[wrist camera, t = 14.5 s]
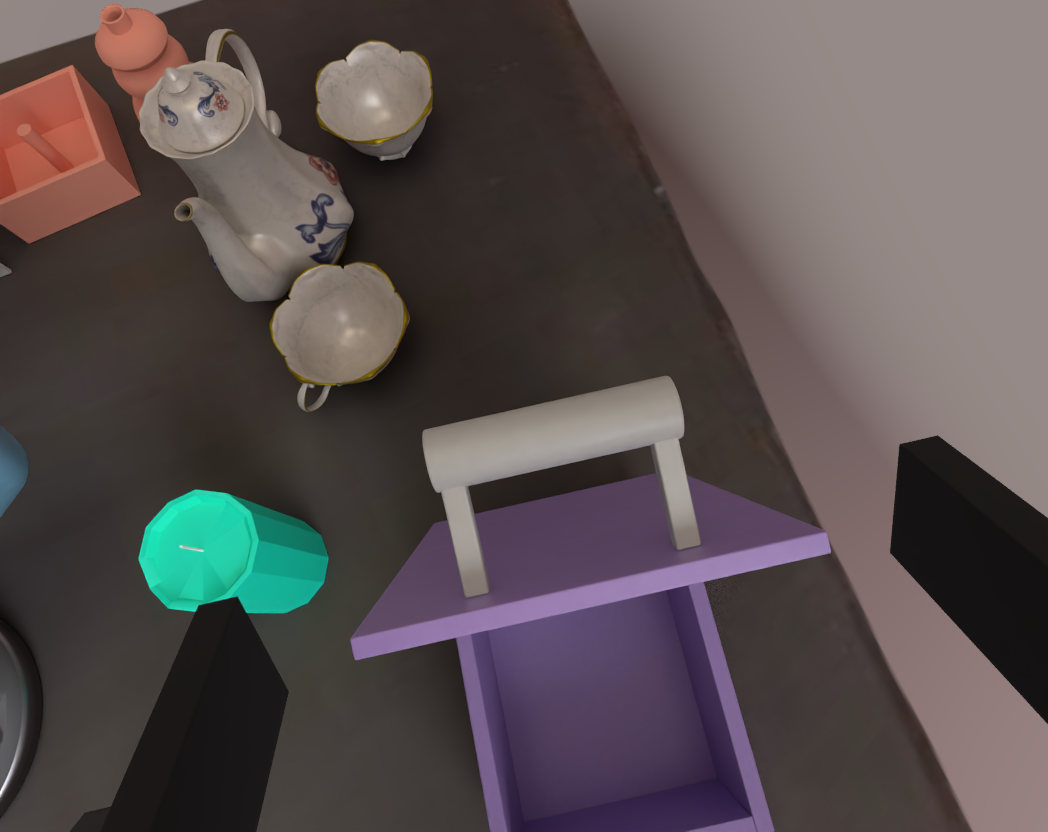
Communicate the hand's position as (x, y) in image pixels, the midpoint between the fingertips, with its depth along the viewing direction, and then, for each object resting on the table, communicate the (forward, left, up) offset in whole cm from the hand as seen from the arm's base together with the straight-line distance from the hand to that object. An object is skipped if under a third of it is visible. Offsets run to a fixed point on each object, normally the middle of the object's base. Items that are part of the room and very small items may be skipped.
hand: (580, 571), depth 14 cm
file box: (+3, -2, -29) cm, 30 cm away
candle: (-15, -11, -30) cm, 35 cm away
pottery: (-49, +2, -30) cm, 57 cm away
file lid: (-1, +1, -13) cm, 13 cm away
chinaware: (-30, +7, -30) cm, 43 cm away
